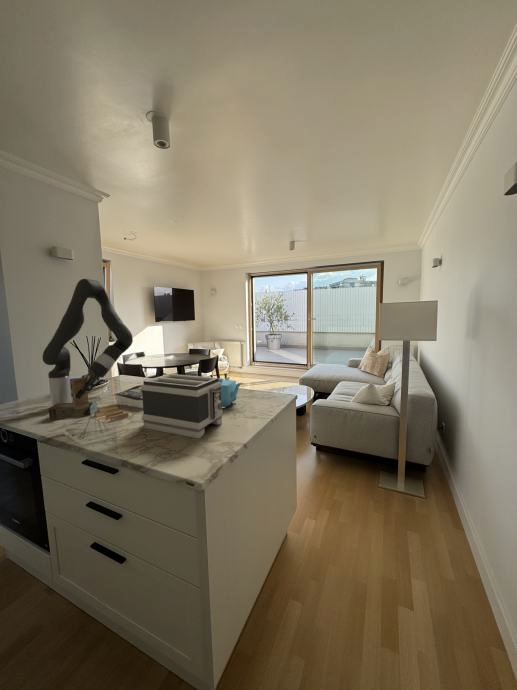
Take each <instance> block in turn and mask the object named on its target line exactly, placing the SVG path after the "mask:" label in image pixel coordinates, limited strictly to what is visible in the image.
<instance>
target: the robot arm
mask: <svg viewBox="0 0 517 690" xmlns="http://www.w3.org/2000/svg"><path fill="white" fill-rule="evenodd" d="M88 299H94V300H96V302H97V303H98V305H99V306H100V310H101V311H100V312H101V313H100V314H101V318H102V320H103V322H104V323H105V325H106V326H107V328H108V329H109V331H111V332H112V333H113V335H114V337H115V339H116V340H115V342H114V343H113V344H110V345H108V346H107V347H105V349H104V350H103V352H102V353H100V355H98V356H97V358H96V359H95V360H94V361H93V362H91V364H90V366H89V367H88V368H87V370H88V371H89V372H88V373H87V374H85V375H82V376H81V377H80V378H83V377H84V378H86V379H87V380H86V381H85V382H84V385H83V387H82V388H81V389H82V390H81V389H80V390H79V392H78V393H77V394H76V395H75V397H76V398H77V399H80V398H81V397H82V395H83V394H84V393H85V392H87V391H88V392H90V391H92V389H94V388H95V387H96V386H97V385H98V384H99V383H100V381H99V379H103V378H104V377H105V376H106V375H107V373H108V372H109V371H110V370H111V369H112V367H113V366H114V365H115V363H116V362H117V360H119V358H120V357H121V355H122V354H124V353H125V352H126V351H127V350H128V349H129V348H130V347H131V346H132V344H133V341H134V340H133V334H132V332H131V331H130V329H129V328H128V327H127V326H126V324H125V323H124V322H123V320H122V319H121V318H120V316H119V314H118V313H117V311H116V310H115V308H114V306H113V305H112V302H111V300H110V297H109V296H108V293H107V291H106V288H105V287H104V285H103V284H102V282H100V281H98V280H93V279H90V278H89V279H88V278H82V279H80V280H79V281H78V282H77V283H76V286H75V288H74V290H73V294H72V297H71V300H70V302H69V304H68V306H67V309H66V311H65V313H64V314H63V316H62V318H61V320H60V322H59V324H58V327H57V329H56V331H55V333H54V334H53V336H52V338H51V339H50V341H49V342H48V344H47V345H46V347H45V348H44V350H43V353H42V355H41V356H42V361H43V363H44V364H45V365H48V366H54V368H52V370H50V371H48V383H49V384H48V385H49V395H50V396H49V397H50V407H52V406H54V405H56V404H57V403H73V395H72V386H71V378H70V372H71V353H70V351H69V349H68V348H67V347H66V344H67V343H69V342H70V341H71V340H72V339H74V338H75V336H77V335H78V334H79V332H80V331H81V329H82V327H83V324H84V323H85V313H84V305H85V303H86V301H87V300H88Z"/></svg>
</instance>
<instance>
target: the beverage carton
mask: <svg viewBox="0 0 517 690" xmlns="http://www.w3.org/2000/svg"><path fill="white" fill-rule="evenodd" d="M88 402H89V401H88ZM97 407H98V402H97V401H90V402H89V407H86V408H82V409H78V410H76V409H74V406H73V402H72V403H57V404H56V405H54V406H52V407H51V406H50V407H48V416H49V420H52V421H53V419H54V420H65V419H69V418H72V417H81V416H82V417H83V416H91V415H92V416H93V414H94V412H96V411H98V409H97Z"/></svg>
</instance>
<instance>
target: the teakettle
mask: <svg viewBox="0 0 517 690" xmlns="http://www.w3.org/2000/svg"><path fill="white" fill-rule="evenodd" d="M218 378H219V382H221V403H222V404H223V407H226V406H227V407H229V406H230V405H232V404H233V403H234V402H235V401H236V400H237V394H238V392H239V388H240V386H241V385H243V384H244V382H237V380H234V379H233V380H230V376H227V377H226V378H225V379H224V378H223V377H218ZM231 403H232V404H231Z"/></svg>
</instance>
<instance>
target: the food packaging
mask: <svg viewBox="0 0 517 690" xmlns="http://www.w3.org/2000/svg"><path fill="white" fill-rule="evenodd" d="M142 385H143V384H141V385H136V386H132V387H130V388H128V389H126V390H123V391H121V392H118V393H114V394H112V396H113V395H114V396H115V400H116V404H117V406H119V405H124V406H127V407H134V408H139V409H143V398H142V390H141V386H142Z"/></svg>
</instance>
